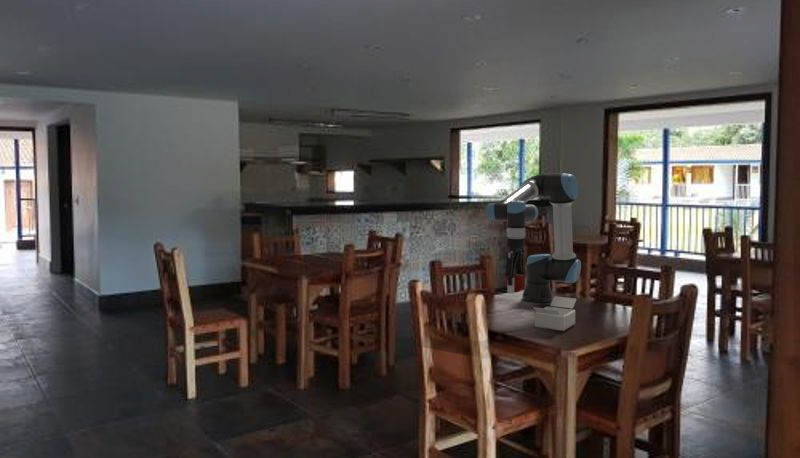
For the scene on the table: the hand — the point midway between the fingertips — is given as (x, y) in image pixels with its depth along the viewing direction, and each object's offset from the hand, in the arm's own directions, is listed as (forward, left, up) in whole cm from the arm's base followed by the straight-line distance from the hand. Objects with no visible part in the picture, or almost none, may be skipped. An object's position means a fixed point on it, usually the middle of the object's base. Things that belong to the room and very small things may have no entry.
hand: (514, 291), depth 267 cm
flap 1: (+2, +15, -6) cm, 17 cm away
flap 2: (-19, +15, -6) cm, 25 cm away
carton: (-8, +15, -14) cm, 22 cm away
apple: (0, 0, -1) cm, 1 cm away
